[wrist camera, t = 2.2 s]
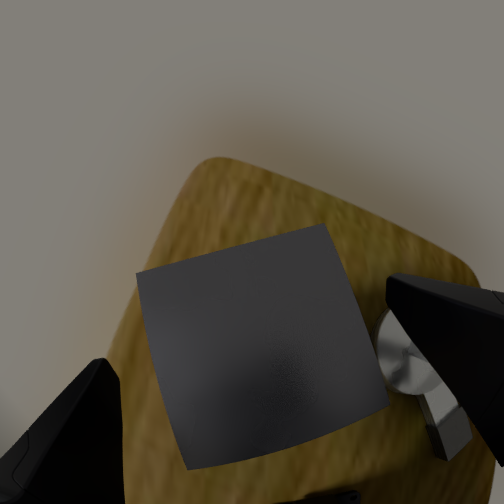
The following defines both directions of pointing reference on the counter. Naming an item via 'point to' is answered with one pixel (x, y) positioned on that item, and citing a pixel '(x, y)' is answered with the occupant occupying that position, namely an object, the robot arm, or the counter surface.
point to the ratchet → (420, 386)
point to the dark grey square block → (259, 347)
